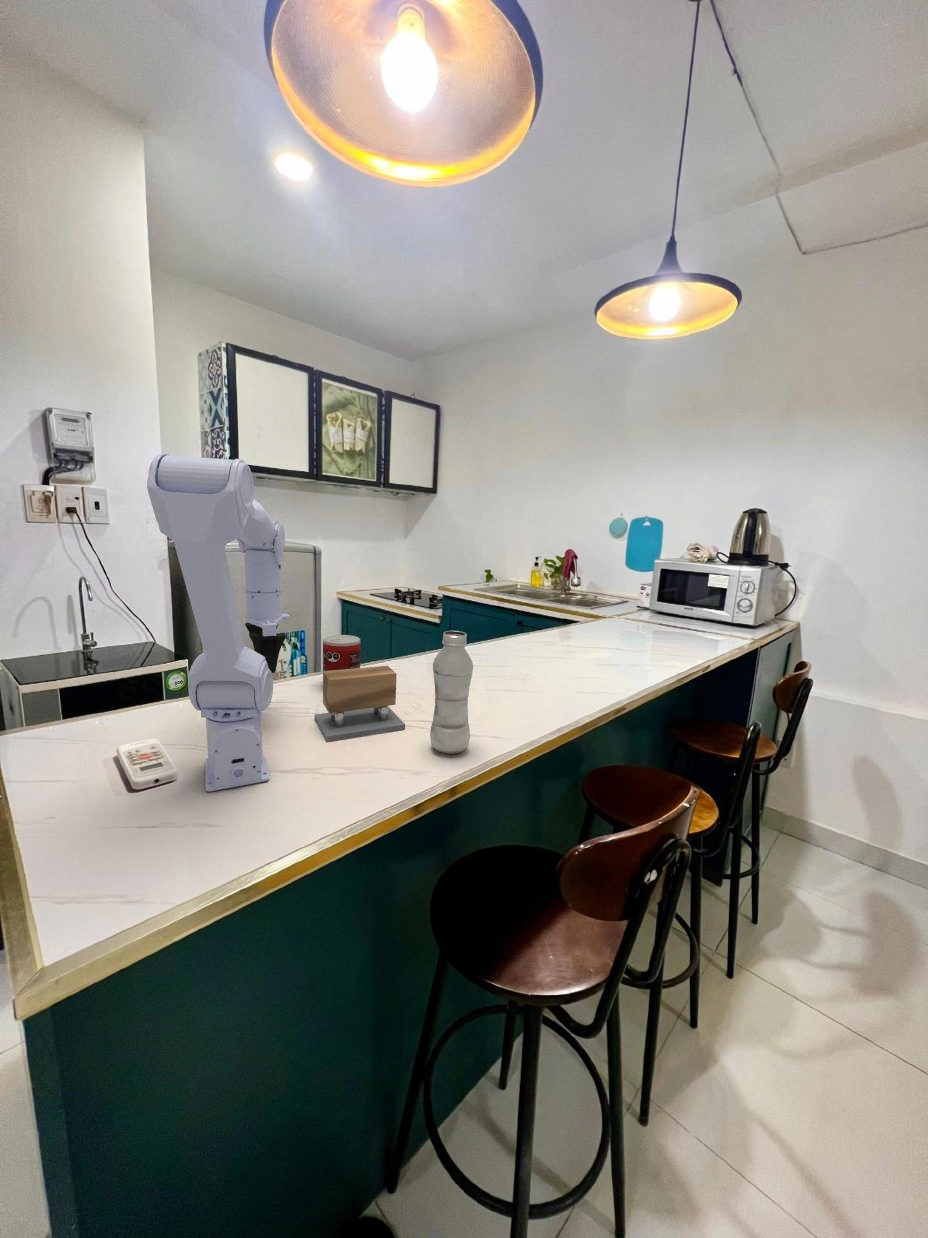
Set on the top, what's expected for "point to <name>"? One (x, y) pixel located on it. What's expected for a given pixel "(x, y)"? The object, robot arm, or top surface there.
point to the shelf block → (359, 688)
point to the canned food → (341, 652)
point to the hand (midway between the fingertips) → (265, 666)
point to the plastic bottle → (451, 695)
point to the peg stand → (358, 723)
